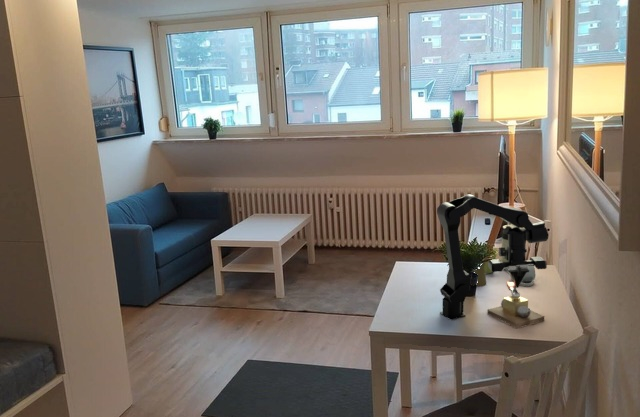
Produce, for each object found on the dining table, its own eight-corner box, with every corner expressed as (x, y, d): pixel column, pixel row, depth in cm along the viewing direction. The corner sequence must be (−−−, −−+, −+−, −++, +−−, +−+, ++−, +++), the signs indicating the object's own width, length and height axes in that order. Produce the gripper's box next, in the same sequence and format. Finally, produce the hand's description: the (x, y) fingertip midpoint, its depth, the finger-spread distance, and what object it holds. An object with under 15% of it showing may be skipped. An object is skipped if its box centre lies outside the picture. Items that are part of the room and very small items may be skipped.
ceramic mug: (508, 278, 236) (508, 260, 234) (528, 277, 236) (529, 259, 234) (518, 287, 225) (518, 269, 223) (538, 286, 225) (539, 267, 224)
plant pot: (477, 275, 240) (477, 255, 238) (471, 268, 249) (471, 248, 247) (500, 274, 240) (500, 254, 238) (493, 267, 249) (493, 247, 248)
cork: (487, 286, 228) (487, 259, 225) (471, 286, 229) (471, 259, 226) (485, 281, 233) (486, 254, 231) (470, 280, 235) (470, 254, 232)
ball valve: (519, 319, 192) (520, 303, 191) (498, 309, 201) (499, 294, 200) (532, 316, 194) (533, 300, 193) (511, 306, 203) (511, 291, 202)
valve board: (516, 328, 190) (516, 323, 189) (487, 313, 202) (487, 309, 202) (544, 320, 194) (544, 316, 194) (514, 306, 207) (514, 302, 206)
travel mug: (501, 270, 245) (502, 229, 241) (500, 264, 253) (501, 224, 249) (521, 271, 243) (523, 229, 239) (519, 265, 251) (521, 224, 247)
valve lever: (520, 298, 195) (520, 294, 195) (512, 297, 195) (512, 294, 195) (513, 285, 207) (513, 282, 207) (506, 285, 207) (506, 281, 207)
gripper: (536, 236, 209) (536, 278, 212) (483, 240, 209) (484, 281, 213) (547, 245, 198) (546, 289, 201) (492, 248, 199) (492, 292, 202)
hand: (516, 287), depth 205 cm, fingers closed
